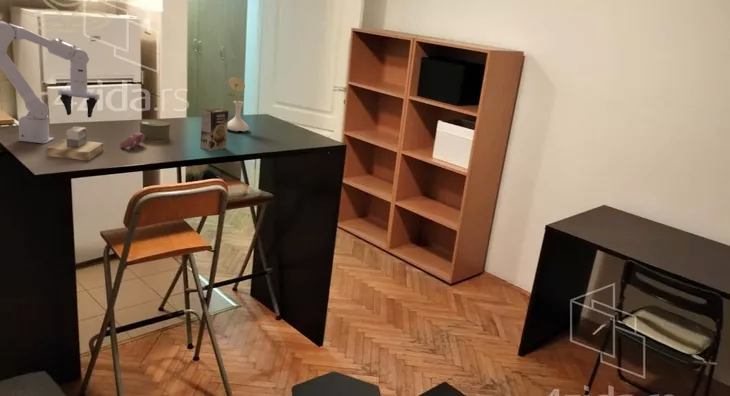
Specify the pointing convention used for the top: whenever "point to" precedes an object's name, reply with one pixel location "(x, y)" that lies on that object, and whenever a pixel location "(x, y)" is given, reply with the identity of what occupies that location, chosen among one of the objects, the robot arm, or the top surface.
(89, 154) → the birch stand
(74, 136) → the two-plate housing
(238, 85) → the flower in vase
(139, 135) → the pink toy
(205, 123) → the coffee box
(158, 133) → the can
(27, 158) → the top surface
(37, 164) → the top surface
